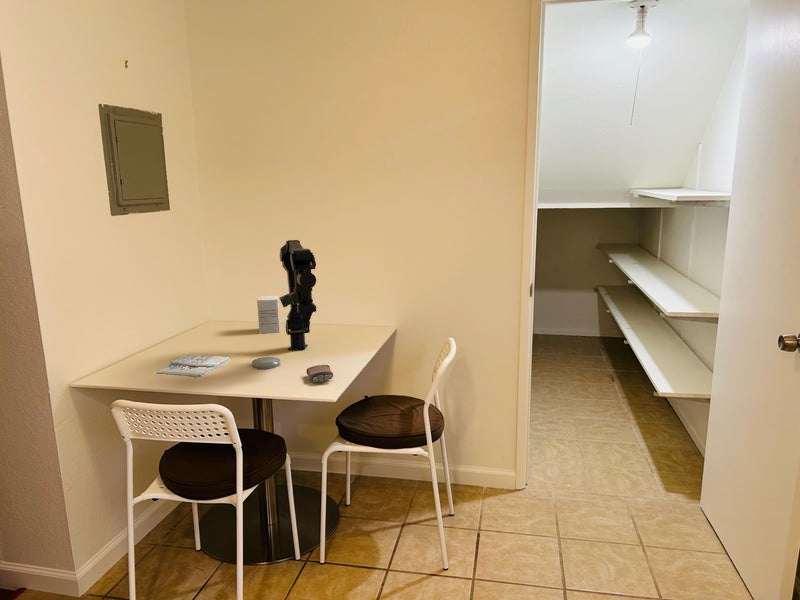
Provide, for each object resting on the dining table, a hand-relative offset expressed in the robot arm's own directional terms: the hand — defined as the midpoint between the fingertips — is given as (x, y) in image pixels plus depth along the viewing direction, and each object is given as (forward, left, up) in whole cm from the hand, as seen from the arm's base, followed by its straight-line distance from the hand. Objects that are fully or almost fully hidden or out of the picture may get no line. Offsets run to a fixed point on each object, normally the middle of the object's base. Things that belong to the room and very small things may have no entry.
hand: (305, 327), depth 216 cm
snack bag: (+7, -40, -14) cm, 43 cm away
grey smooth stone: (+4, -14, -13) cm, 20 cm away
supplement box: (-45, -28, -13) cm, 55 cm away
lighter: (+14, +7, -11) cm, 19 cm away
